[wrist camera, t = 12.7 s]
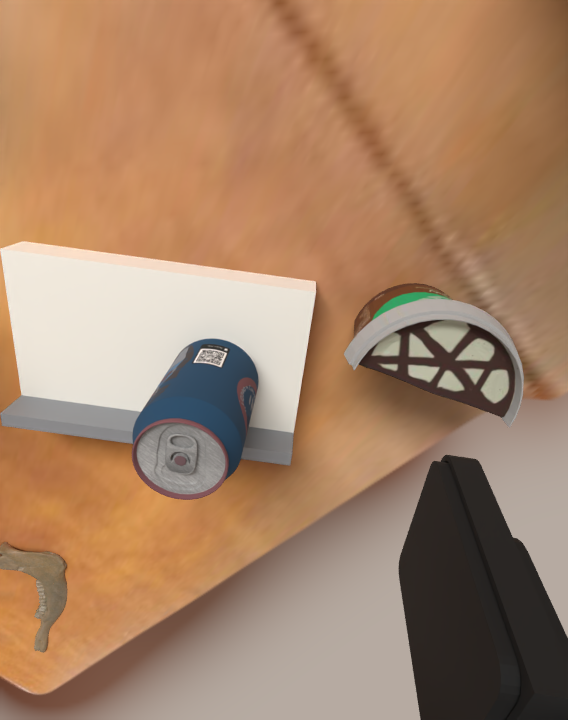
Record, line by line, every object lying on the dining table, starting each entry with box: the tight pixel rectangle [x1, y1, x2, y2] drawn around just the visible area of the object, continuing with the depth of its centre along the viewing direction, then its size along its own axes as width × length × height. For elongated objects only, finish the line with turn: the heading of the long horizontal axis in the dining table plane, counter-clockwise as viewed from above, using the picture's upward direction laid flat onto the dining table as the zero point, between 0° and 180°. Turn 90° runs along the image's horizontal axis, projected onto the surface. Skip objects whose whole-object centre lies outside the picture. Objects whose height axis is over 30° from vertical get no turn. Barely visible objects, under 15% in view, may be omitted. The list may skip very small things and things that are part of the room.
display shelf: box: [0, 241, 316, 465], centre depth 37 cm, size 24×14×6 cm, turn 83°
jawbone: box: [0, 542, 67, 652], centre depth 56 cm, size 9×20×2 cm, turn 7°
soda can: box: [132, 338, 259, 500], centre depth 32 cm, size 7×7×12 cm
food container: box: [344, 283, 524, 427], centre depth 33 cm, size 12×6×10 cm, turn 69°
